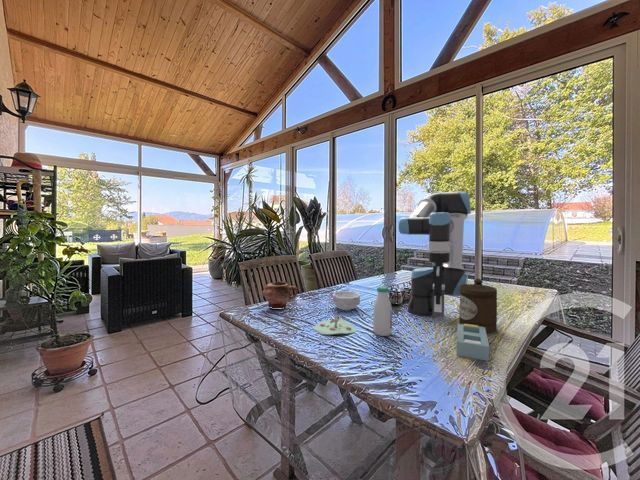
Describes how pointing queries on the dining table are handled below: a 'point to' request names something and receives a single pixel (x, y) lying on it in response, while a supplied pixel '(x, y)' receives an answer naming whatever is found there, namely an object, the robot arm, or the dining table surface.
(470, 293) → the wooden container
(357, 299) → the paper bowls
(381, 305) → the milk bottle
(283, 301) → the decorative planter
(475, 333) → the socket block
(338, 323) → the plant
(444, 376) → the dining table surface
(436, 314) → the plug
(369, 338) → the dining table surface
